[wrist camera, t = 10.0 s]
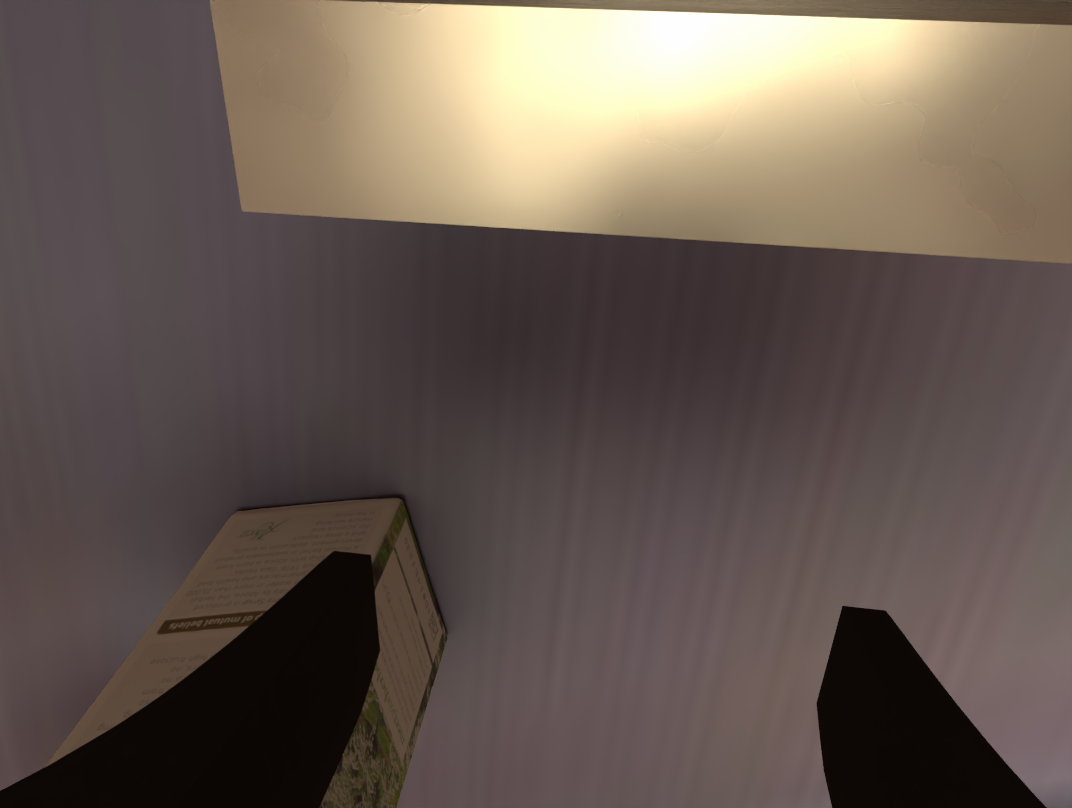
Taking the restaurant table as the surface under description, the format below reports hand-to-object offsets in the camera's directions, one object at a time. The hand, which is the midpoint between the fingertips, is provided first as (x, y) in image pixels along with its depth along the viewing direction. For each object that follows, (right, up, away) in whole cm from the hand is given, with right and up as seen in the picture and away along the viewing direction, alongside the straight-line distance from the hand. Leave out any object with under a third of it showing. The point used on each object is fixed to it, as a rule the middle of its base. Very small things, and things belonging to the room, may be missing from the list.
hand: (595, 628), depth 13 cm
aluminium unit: (+2, +11, +5) cm, 12 cm away
